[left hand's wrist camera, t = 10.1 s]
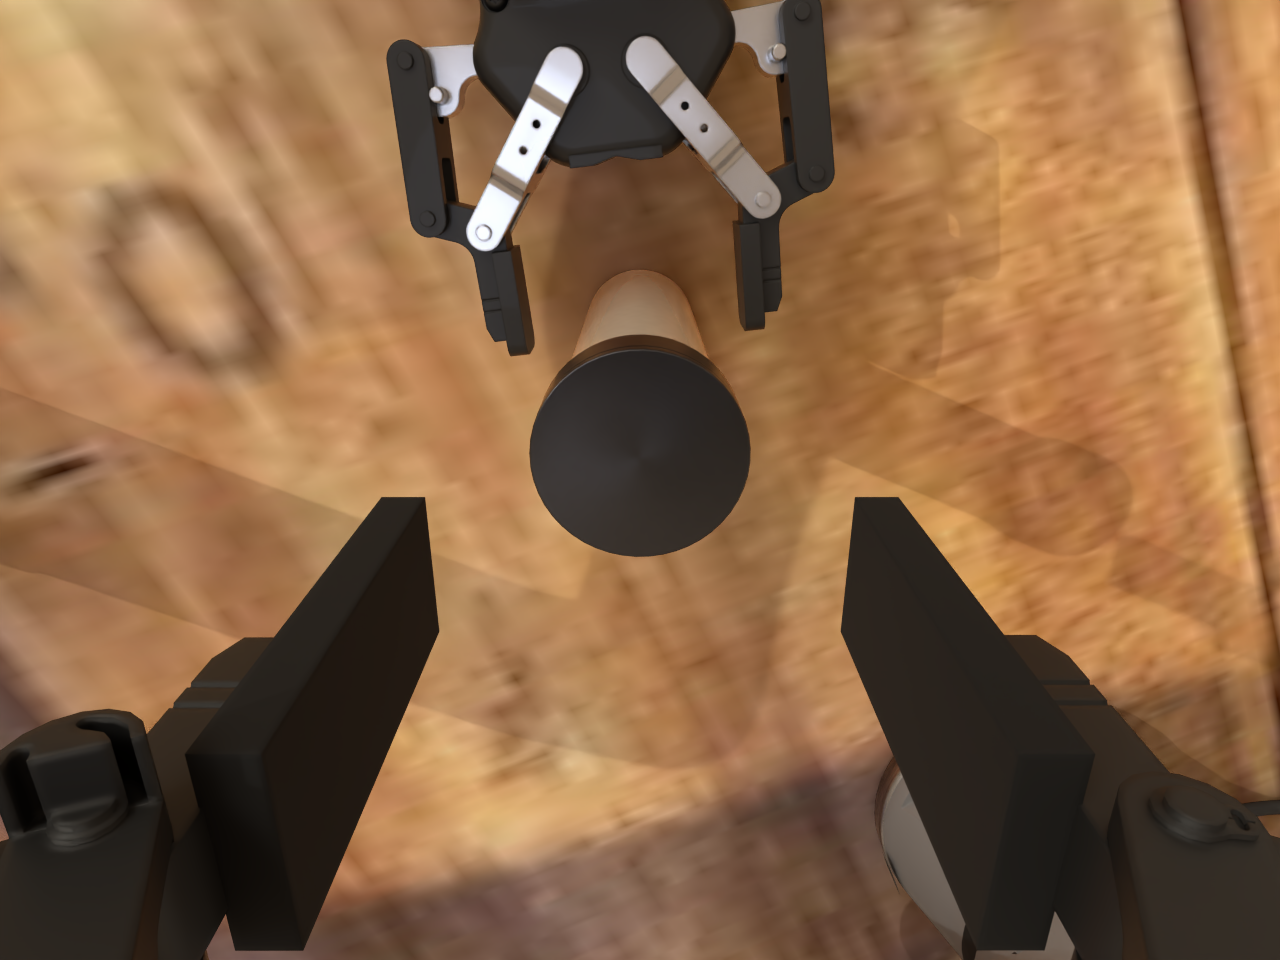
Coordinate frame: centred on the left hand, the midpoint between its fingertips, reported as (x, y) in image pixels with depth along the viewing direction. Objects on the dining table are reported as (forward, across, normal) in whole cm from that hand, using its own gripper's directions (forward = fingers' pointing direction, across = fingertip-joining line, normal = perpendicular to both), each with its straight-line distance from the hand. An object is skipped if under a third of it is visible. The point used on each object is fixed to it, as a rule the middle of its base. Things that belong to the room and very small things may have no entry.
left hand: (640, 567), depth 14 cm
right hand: (+17, 0, +1) cm, 17 cm away
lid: (+6, 0, 0) cm, 6 cm away
